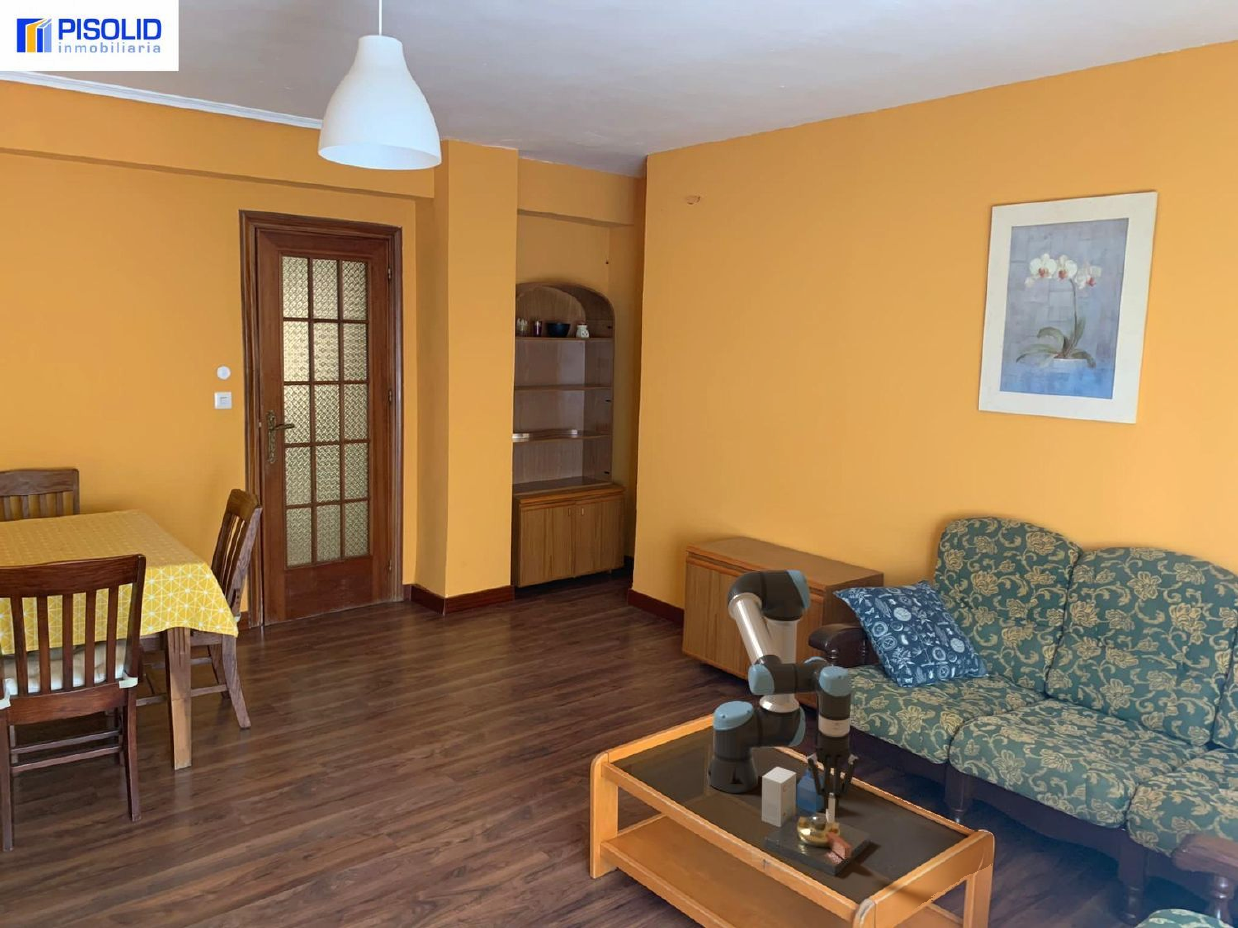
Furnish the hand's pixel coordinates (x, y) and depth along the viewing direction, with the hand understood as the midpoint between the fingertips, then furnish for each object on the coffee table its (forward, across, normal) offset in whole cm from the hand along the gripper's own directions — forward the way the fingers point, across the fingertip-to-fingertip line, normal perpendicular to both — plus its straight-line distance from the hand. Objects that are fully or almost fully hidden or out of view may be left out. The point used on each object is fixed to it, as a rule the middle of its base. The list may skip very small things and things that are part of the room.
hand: (830, 819), depth 231 cm
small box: (+14, -9, +24) cm, 29 cm away
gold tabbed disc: (+11, +1, +8) cm, 13 cm away
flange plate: (+13, 0, +10) cm, 17 cm away
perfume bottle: (+14, +2, +31) cm, 35 cm away
